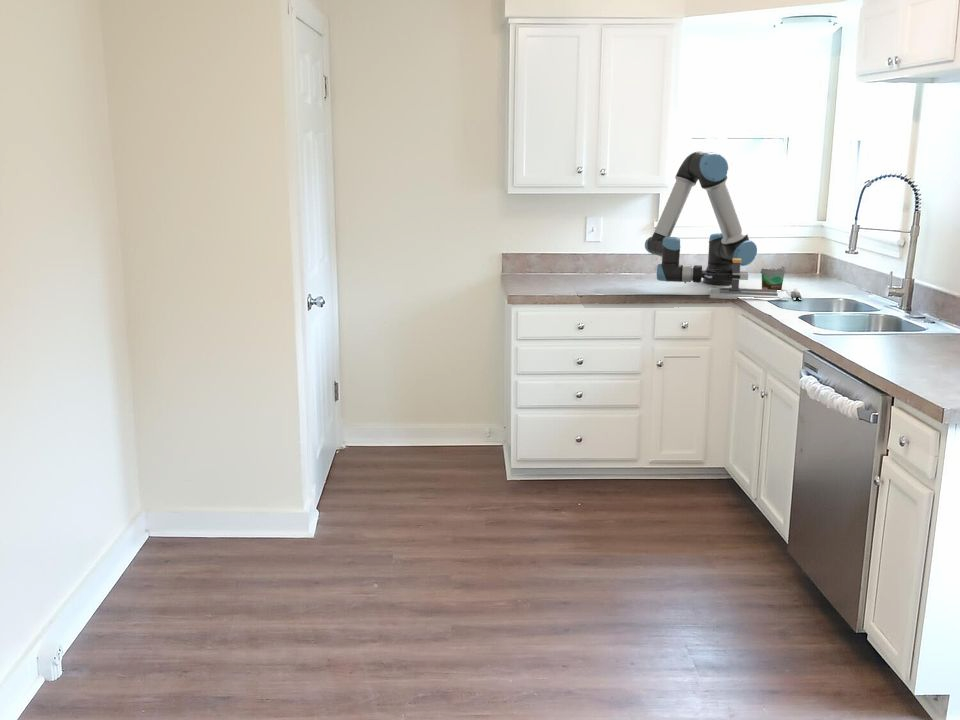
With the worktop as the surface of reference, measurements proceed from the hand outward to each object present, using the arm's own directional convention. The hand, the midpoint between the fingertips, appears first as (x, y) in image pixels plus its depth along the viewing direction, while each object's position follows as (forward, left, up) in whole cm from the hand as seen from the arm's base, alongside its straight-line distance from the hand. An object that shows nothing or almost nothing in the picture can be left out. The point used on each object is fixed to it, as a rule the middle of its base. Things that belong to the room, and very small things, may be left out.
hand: (747, 275), depth 380 cm
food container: (-15, +13, -9) cm, 22 cm away
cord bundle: (-1, +21, -9) cm, 23 cm away
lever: (0, -5, -7) cm, 9 cm away
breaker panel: (0, +1, -9) cm, 9 cm away
